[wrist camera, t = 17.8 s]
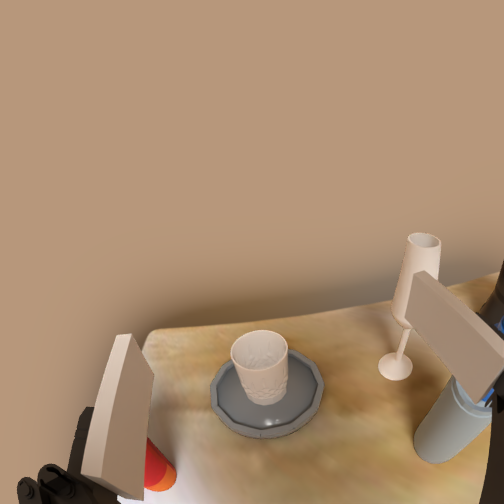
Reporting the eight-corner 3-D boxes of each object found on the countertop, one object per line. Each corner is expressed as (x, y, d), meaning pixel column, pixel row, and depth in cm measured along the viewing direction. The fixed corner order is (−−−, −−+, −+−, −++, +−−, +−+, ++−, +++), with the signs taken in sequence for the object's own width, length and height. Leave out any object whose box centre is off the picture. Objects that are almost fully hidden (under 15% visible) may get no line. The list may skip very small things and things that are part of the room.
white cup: (232, 390, 40) (219, 350, 36) (266, 364, 45) (259, 322, 40) (266, 417, 35) (257, 380, 30) (300, 386, 39) (299, 344, 35)
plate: (331, 361, 44) (331, 354, 43) (306, 450, 29) (306, 445, 28) (239, 346, 51) (237, 340, 50) (194, 419, 36) (191, 414, 35)
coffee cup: (131, 455, 29) (77, 404, 23) (179, 449, 31) (135, 397, 25) (136, 500, 22) (71, 462, 15) (189, 496, 24) (138, 461, 17)
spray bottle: (402, 446, 25) (482, 314, 14) (432, 405, 29) (497, 269, 19) (444, 472, 18) (558, 352, 8) (471, 428, 23) (557, 296, 12)
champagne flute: (419, 368, 37) (456, 243, 27) (393, 387, 36) (429, 257, 25) (397, 347, 43) (420, 226, 33) (370, 363, 41) (390, 237, 31)
